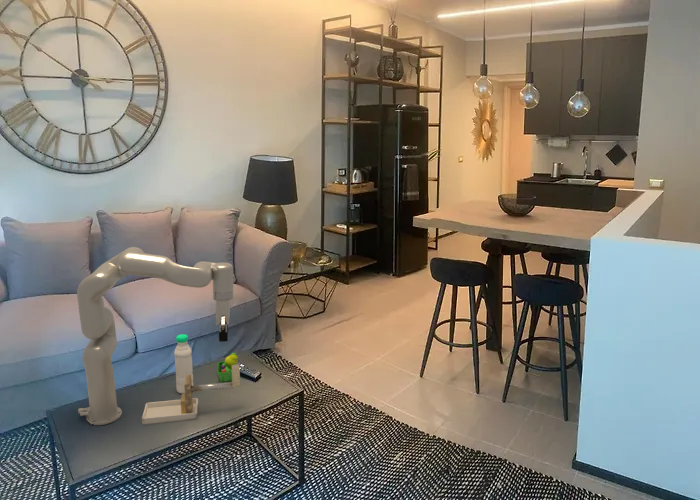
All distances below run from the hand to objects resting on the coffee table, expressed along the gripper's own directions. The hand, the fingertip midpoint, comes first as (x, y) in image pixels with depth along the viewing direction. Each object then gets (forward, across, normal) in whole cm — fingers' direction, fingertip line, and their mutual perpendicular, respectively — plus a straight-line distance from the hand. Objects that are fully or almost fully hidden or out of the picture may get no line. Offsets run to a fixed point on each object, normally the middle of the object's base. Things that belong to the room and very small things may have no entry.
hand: (223, 336), depth 209 cm
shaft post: (+31, +2, -13) cm, 34 cm away
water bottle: (+31, -17, -16) cm, 39 cm away
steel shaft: (+22, +1, -3) cm, 22 cm away
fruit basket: (+31, -26, +1) cm, 40 cm away
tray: (+31, +2, -20) cm, 37 cm away
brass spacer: (+31, +2, -15) cm, 34 cm away
